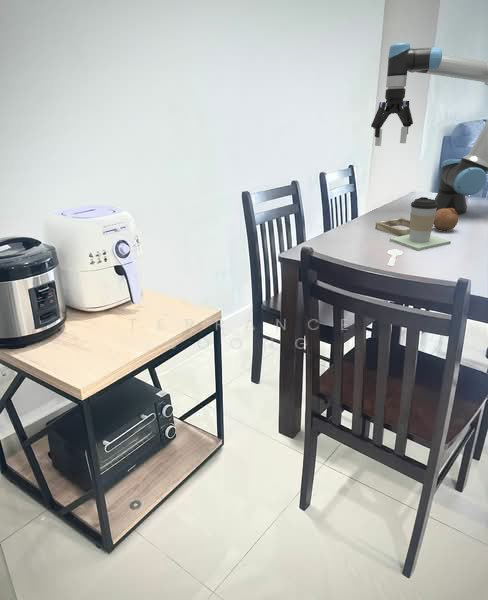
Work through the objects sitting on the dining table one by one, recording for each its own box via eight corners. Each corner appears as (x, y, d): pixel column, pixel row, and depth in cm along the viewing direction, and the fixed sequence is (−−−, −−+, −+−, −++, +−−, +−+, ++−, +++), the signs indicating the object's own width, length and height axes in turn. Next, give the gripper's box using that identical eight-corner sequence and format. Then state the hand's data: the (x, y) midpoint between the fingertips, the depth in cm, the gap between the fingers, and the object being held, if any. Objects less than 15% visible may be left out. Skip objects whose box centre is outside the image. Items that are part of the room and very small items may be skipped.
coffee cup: (434, 243, 158) (441, 202, 151) (408, 243, 159) (413, 201, 153) (429, 236, 166) (436, 196, 159) (404, 235, 167) (409, 196, 161)
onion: (451, 236, 178) (466, 215, 173) (443, 235, 171) (459, 213, 166) (431, 224, 183) (446, 203, 178) (423, 223, 176) (438, 201, 171)
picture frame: (401, 223, 187) (401, 218, 186) (426, 231, 175) (427, 225, 174) (375, 228, 182) (375, 222, 180) (399, 236, 170) (400, 230, 169)
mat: (421, 234, 172) (421, 232, 171) (450, 243, 160) (450, 241, 160) (389, 240, 166) (389, 238, 165) (417, 250, 154) (418, 248, 154)
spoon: (381, 266, 142) (381, 264, 142) (388, 249, 157) (388, 248, 157) (399, 268, 140) (399, 266, 140) (404, 251, 155) (404, 249, 155)
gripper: (412, 87, 182) (406, 141, 191) (364, 89, 172) (360, 146, 181) (426, 86, 176) (419, 142, 184) (377, 88, 166) (373, 147, 175)
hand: (390, 144), depth 183 cm, fingers open, 13 cm apart
